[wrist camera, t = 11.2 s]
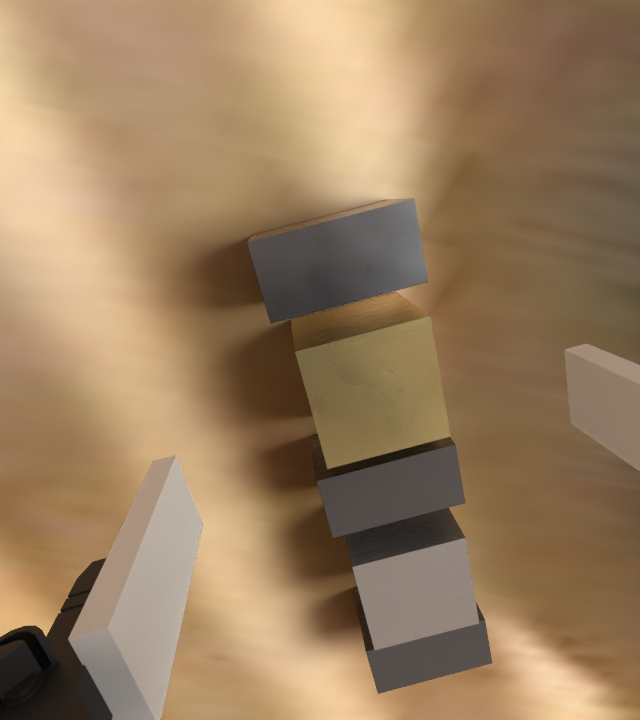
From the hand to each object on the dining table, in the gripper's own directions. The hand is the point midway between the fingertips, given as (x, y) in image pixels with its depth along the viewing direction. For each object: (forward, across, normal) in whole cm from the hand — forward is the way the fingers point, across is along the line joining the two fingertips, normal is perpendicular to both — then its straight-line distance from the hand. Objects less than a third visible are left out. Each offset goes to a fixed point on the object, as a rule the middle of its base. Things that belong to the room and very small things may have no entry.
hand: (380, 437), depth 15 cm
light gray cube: (+8, 0, -10) cm, 12 cm away
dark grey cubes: (+7, 0, -4) cm, 9 cm away
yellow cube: (+7, +1, 0) cm, 7 cm away
